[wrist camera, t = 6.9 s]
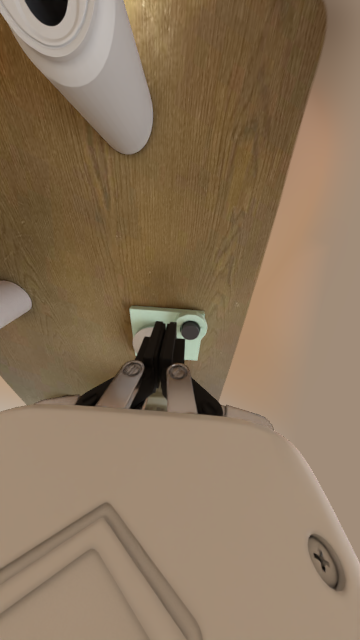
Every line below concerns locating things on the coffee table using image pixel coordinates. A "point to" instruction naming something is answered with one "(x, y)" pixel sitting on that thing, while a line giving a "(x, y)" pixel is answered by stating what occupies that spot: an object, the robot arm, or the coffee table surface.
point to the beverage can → (88, 62)
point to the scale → (150, 315)
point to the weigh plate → (141, 337)
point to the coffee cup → (12, 302)
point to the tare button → (190, 330)
